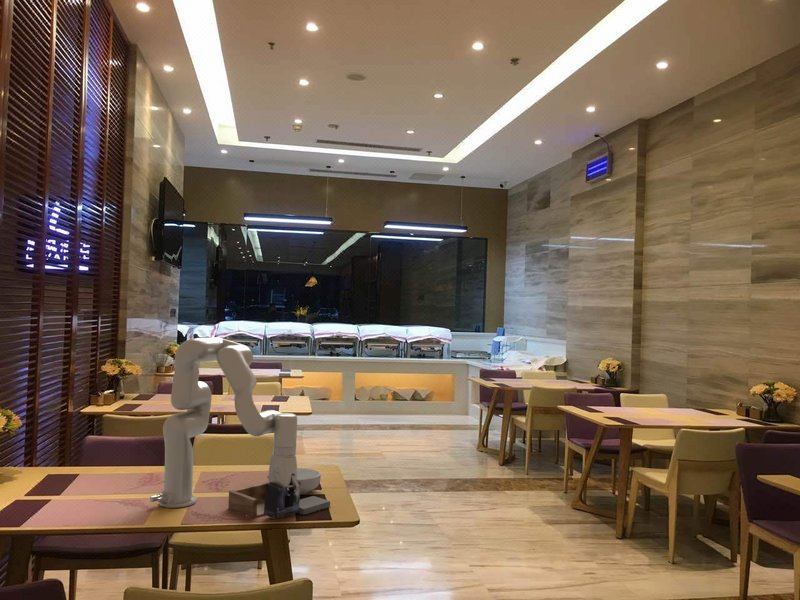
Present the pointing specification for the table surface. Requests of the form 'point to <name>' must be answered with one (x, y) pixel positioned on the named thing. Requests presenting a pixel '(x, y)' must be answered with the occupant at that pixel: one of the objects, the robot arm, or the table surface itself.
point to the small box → (279, 501)
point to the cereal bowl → (308, 479)
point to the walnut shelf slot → (248, 500)
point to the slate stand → (312, 504)
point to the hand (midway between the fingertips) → (282, 503)
